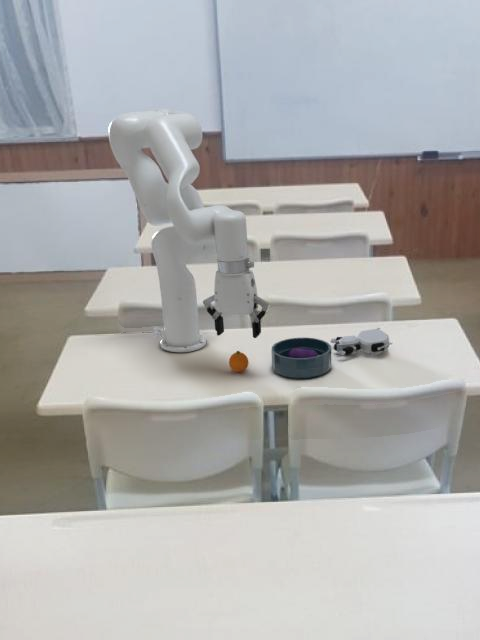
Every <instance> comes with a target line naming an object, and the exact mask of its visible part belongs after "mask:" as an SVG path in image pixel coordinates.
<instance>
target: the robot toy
mask: <svg viewBox="0 0 480 640" xmlns="http://www.w3.org/2000/svg"><path fill="white" fill-rule="evenodd" d="M330 344H333V350H335V351H336V352H337V353H338V355H340V356H345V357H347V356H351V355H352V354H355V353H358V352H359V351H360V350H361V351H362V352H364V353H367V354H373V355H379V354H381V353H382V352H385V351H387V350H388V349H389V348H390V346H391V345H393V342H390V337H389V335H388V334H387V333H386V332H385V331H383V330H381V327H377V328H371V329H365V330H361V331H360V332H359V333H358V334H357V335H347V336H337V337H336V338H331V339H330Z"/></svg>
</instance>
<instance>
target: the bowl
mask: <svg viewBox="0 0 480 640" xmlns="http://www.w3.org/2000/svg"><path fill="white" fill-rule="evenodd" d="M295 348H298V349H308V350H314V351H316V352H317V354H318V355H319V356H316V357H310V358H289V357H288V354H289V352H290V351H291V350H292V349H295ZM271 368H272V370H273V371H274V373H276V374H278V375H280V376H281V377H285V378H289V379H299V380H302V379H303V380H304V379H312V378H317V377H320V376H322V375H324V374H325V373H327V372H329V371H330V370H331V368H332V345H331V343H329V342H328V341H325V340H323V339H320V338H314V337H292V338H286V339H282V340H280V341H277V342H276V343H274V344H273V345H272V346H271Z"/></svg>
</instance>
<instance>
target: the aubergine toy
mask: <svg viewBox="0 0 480 640" xmlns="http://www.w3.org/2000/svg"><path fill="white" fill-rule="evenodd" d="M316 356H319V355H318V354H317V352H316V351H314V350H308V349H298V348H295V349H292V350H291V351H290V352H289V354H288V357H289V358H310V357H316Z"/></svg>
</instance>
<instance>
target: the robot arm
mask: <svg viewBox="0 0 480 640" xmlns="http://www.w3.org/2000/svg"><path fill="white" fill-rule="evenodd" d="M108 141H109V146H110V148H111V151H112V154H113V156H114V158H115V160H116V162H117V164H118V165H119V167H120V168H121V170H122V171H123V172H124V174H125V176H126V178H127V179H128V181H129V184H130V186H131V189H132V191H133V193H134V196H135V198H136V200H137V203H138V206H139V208H140V210H141V212H142V214H143V217H144V219H145V220H146V222H147V223H148V224H149V225H151V226H154V227H158V226H166V225H170V224H172V226H167V227H164V228H161V229H159V230H158V231H156V232H155V233H154V234H153V236H152V238H151V241H150V243H151V244H150V245H151V251H152V255H153V259H154V261H155V265H156V270H157V275H158V282H159V293H160V299H161V309H162V319H163V327H158V326H154V327H153V328H152V336H153V337H154V338H155V337H156V338H160V339H161V340H160V348H161V349H162V350H165V351H167V352H171V353H190V352H195V351H198V350H200V349H202V348H204V347H205V346H206V344H207V339H206V337H205V336H203V335H202V334H200V333H201V332H200V320H199V308H198V298H197V286H196V280H195V277H194V275H193V273H192V272H191V271H190V270H189V268H188V267H187V264H188V263H192V262H196V261H200V260H204V259H208V258H210V257H212V256H213V255H214V254H215V253H216V263H217V271H215V277H214V287H213V288H214V291H213V294H212V295H210V296H209V297H207V298H205V299H204V300H202V304H203V306H204V307H205V309H206V312H207V313H208V314H209V315H210V316H211V318H212V320H213V321H214V330H215V331H216V336H221V335H222V334H224V332H225V326H224V317H223V316H222V314H230V315H231V314H233V315H248V316H249V317H250V318H251V320H253V321H252V322H251V328H252V338H253V339H257V338H258V337H259V336H260V334H261V333H262V323H261V321H262V319H263V318H264V317H265V315H266V314H267V313H268V311H269V308H270V306H271V303H270V302H268V301H266V300H265V299H263V298H261V297H260V296H258V290H257V284H256V278H255V274H254V271H253V270H252V269H253V268H255V262H254V261H251V260H250V257H249V246H248V245H249V244H248V229H247V218H246V217H247V216H246V215H245V214H244V212H242V211H240V210H234V209H231V208H230V207H229V206H227V205H223V204H217V205H212V206H211V205H210V206H205V205H204V203H203V200H202V197H201V195H200V194H199V192H198V190H197V189H196V188H195V187H194V185H192V184H193V183H194V182H195V181H196V179H197V178H198V177H199V175H200V171H201V167H200V164H199V161H198V160H197V159H196V157H195V155H194V152H193V151H192V150H196V149H198V148H199V147H200V146H201V144H202V142H203V130H202V126H201V123H200V122H199V120H198V119H197V117H195V116H194V115H193V114H191V113H190V112H187V111H182V110H176V109H170V108H157V109H150V110H141V111H131V112H126V113H122V114H119V115H117V116H116V117H114V118H113V119H112V120H111V121H110V123H109V126H108ZM148 148H149V150H150V152H151V154H152V155H153V157H154V159H155V160H153V159H152V158H151V156H149V155H148V154H146V153H145V152H143V150H142V149H148ZM155 161H156V162H157V163H158V164H157V163H156V162H155ZM162 173H163V174H162ZM164 176H165V178H166V180H167V181H168V182H166V180H165V178H164ZM251 268H252V269H251ZM213 302H214V306H213V305H212V303H213ZM259 306H260V307H261V311H259V310H258V308H259Z"/></svg>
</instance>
